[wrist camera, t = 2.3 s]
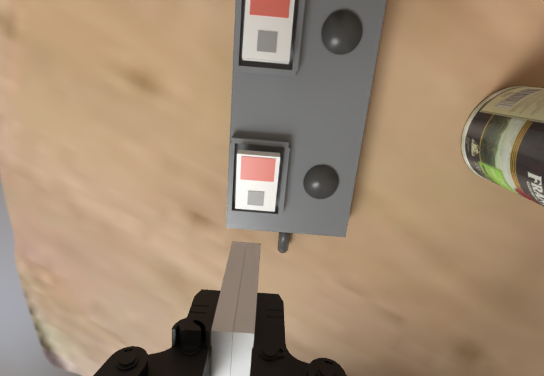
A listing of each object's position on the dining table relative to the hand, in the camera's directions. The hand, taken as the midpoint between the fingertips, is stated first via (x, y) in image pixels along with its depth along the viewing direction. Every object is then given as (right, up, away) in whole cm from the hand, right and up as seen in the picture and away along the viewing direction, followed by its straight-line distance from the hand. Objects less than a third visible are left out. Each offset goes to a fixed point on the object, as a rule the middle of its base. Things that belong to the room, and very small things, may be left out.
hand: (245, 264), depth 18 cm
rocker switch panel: (+4, +11, +17) cm, 20 cm away
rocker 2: (0, +5, +14) cm, 15 cm away
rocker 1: (+1, +18, +10) cm, 20 cm away
